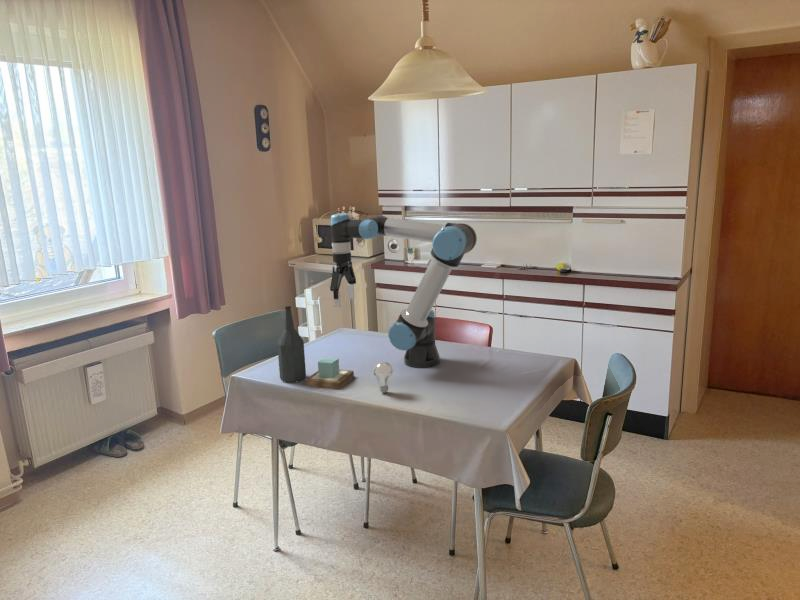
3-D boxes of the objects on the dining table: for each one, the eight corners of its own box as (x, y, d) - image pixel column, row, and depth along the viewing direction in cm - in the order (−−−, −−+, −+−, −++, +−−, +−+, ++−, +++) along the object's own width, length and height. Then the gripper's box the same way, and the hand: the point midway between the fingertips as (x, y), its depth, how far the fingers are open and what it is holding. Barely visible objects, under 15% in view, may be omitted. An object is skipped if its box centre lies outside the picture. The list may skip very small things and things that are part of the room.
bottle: (297, 384, 238) (292, 309, 231) (275, 381, 242) (269, 308, 235) (310, 375, 248) (305, 303, 241) (289, 373, 251) (283, 302, 244)
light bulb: (378, 397, 222) (377, 366, 219) (371, 391, 228) (370, 360, 225) (396, 394, 224) (395, 363, 222) (389, 388, 231) (387, 357, 228)
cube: (339, 372, 241) (338, 358, 240) (332, 378, 236) (331, 363, 234) (325, 371, 243) (324, 357, 242) (318, 376, 238) (317, 362, 236)
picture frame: (353, 376, 244) (353, 370, 244) (338, 389, 231) (338, 382, 231) (322, 373, 249) (322, 367, 248) (306, 385, 236) (305, 379, 235)
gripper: (346, 247, 262) (348, 295, 267) (319, 256, 239) (322, 309, 244) (362, 248, 259) (364, 296, 264) (336, 257, 237) (339, 310, 241)
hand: (344, 302), depth 254 cm, fingers open, 13 cm apart
